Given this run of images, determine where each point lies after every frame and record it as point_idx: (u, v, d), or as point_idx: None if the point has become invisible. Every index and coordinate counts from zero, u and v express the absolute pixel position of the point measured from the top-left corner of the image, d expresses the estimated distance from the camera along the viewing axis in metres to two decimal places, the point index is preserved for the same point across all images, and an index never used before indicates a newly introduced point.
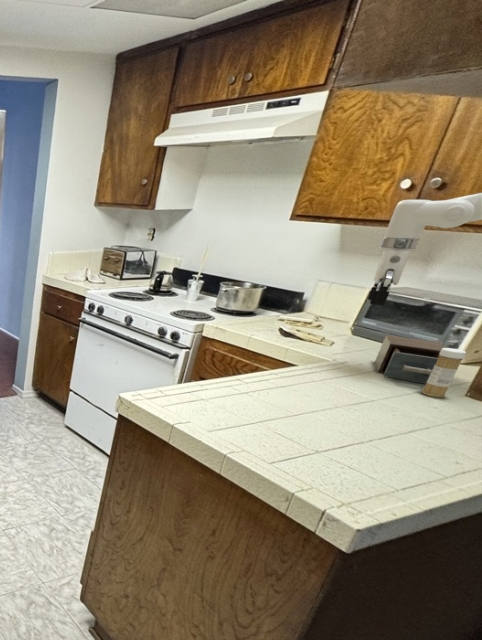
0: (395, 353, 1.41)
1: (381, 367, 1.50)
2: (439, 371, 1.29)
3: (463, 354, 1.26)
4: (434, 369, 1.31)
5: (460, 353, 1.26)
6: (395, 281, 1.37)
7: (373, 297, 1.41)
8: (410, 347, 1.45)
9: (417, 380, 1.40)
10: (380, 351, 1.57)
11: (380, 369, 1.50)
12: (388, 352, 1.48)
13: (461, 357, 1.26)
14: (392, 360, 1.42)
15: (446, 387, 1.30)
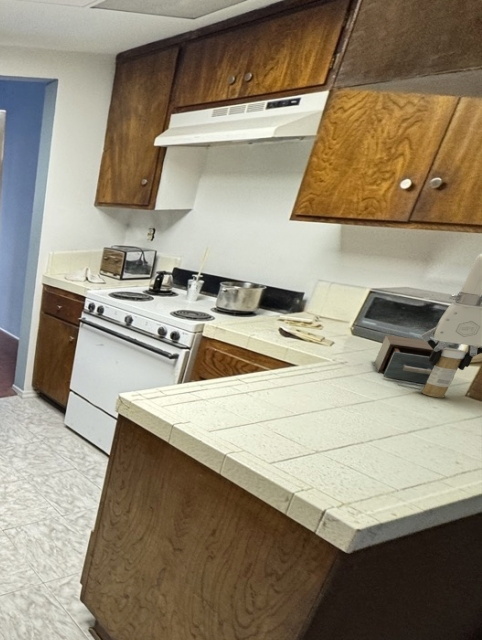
0: (395, 353, 1.41)
1: (381, 367, 1.50)
2: (439, 371, 1.29)
3: (463, 354, 1.26)
4: (434, 369, 1.31)
5: (460, 353, 1.26)
6: (434, 335, 1.28)
7: None
8: (410, 347, 1.45)
9: (417, 380, 1.40)
10: (380, 351, 1.57)
11: (380, 369, 1.50)
12: (388, 352, 1.48)
13: (461, 357, 1.26)
14: (392, 360, 1.42)
15: (446, 387, 1.30)
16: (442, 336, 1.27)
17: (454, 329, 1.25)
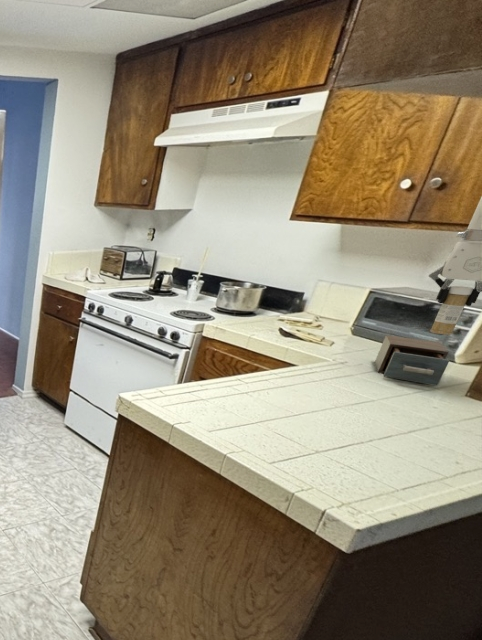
0: (395, 353, 1.41)
1: (381, 367, 1.50)
2: (447, 309, 1.33)
3: (470, 290, 1.30)
4: (442, 307, 1.35)
5: (467, 289, 1.30)
6: (442, 273, 1.32)
7: None
8: (410, 347, 1.45)
9: (417, 380, 1.40)
10: (380, 351, 1.57)
11: (380, 369, 1.50)
12: (388, 352, 1.48)
13: (468, 293, 1.30)
14: (392, 360, 1.42)
15: (454, 324, 1.34)
16: (450, 273, 1.31)
17: (461, 265, 1.29)
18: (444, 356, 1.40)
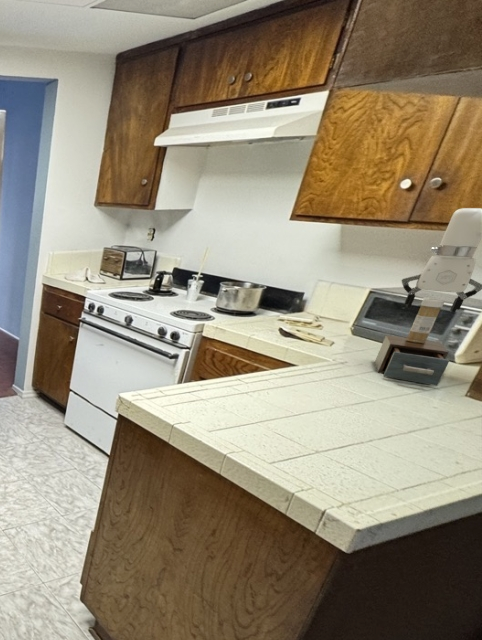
0: (395, 353, 1.41)
1: (381, 367, 1.50)
2: (421, 320, 1.46)
3: (441, 303, 1.43)
4: (416, 318, 1.48)
5: (439, 302, 1.43)
6: (417, 285, 1.45)
7: None
8: (410, 347, 1.45)
9: (417, 380, 1.40)
10: (380, 351, 1.57)
11: (380, 369, 1.50)
12: (388, 352, 1.48)
13: (440, 306, 1.43)
14: (392, 360, 1.42)
15: (427, 333, 1.47)
16: (424, 285, 1.43)
17: (434, 278, 1.42)
18: (444, 356, 1.40)
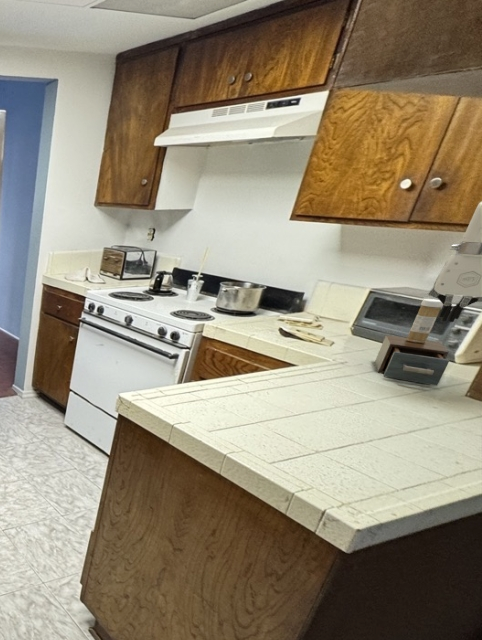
0: (395, 353, 1.41)
1: (381, 367, 1.50)
2: (421, 320, 1.46)
3: (441, 303, 1.43)
4: (416, 318, 1.48)
5: (439, 302, 1.43)
6: (435, 288, 1.25)
7: None
8: (410, 347, 1.45)
9: (417, 380, 1.40)
10: (380, 351, 1.57)
11: (380, 369, 1.50)
12: (388, 352, 1.48)
13: (440, 306, 1.43)
14: (392, 360, 1.42)
15: (427, 333, 1.47)
16: (442, 288, 1.24)
17: (455, 280, 1.22)
18: (444, 356, 1.40)
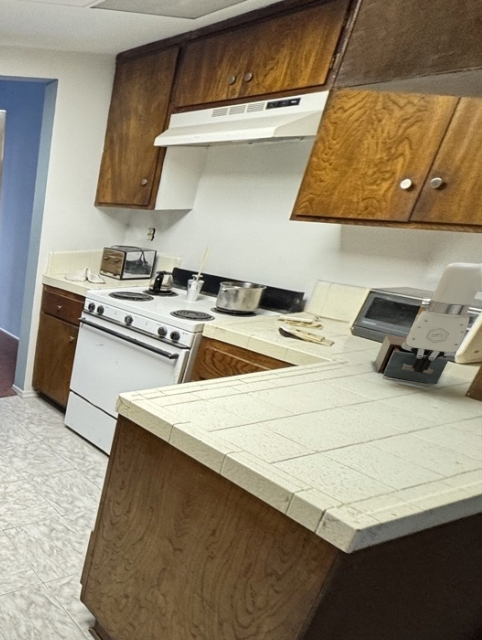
0: (395, 352, 1.42)
1: (381, 367, 1.50)
2: None
3: None
4: (416, 318, 1.48)
5: None
6: (407, 341, 1.34)
7: None
8: None
9: (416, 379, 1.41)
10: (380, 351, 1.57)
11: (380, 369, 1.50)
12: (388, 352, 1.48)
13: None
14: (392, 359, 1.43)
15: None
16: (414, 342, 1.33)
17: (425, 335, 1.31)
18: (444, 356, 1.40)
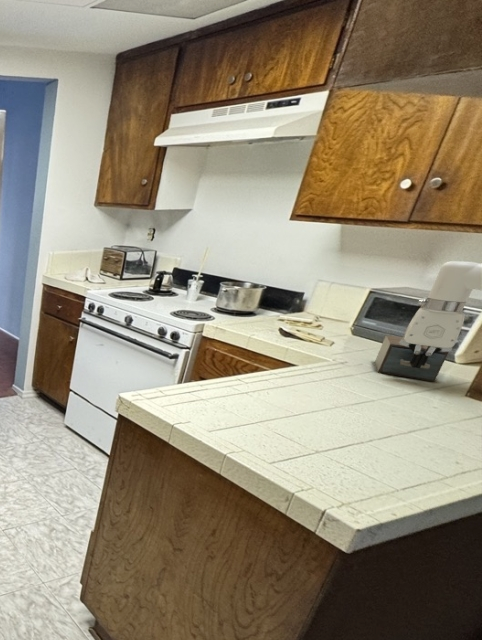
0: (393, 348, 1.46)
1: (381, 367, 1.50)
2: None
3: None
4: None
5: None
6: (404, 338, 1.38)
7: None
8: None
9: (414, 374, 1.45)
10: (380, 351, 1.57)
11: (380, 369, 1.50)
12: (388, 352, 1.48)
13: None
14: (390, 355, 1.47)
15: None
16: (411, 338, 1.37)
17: (422, 332, 1.35)
18: None
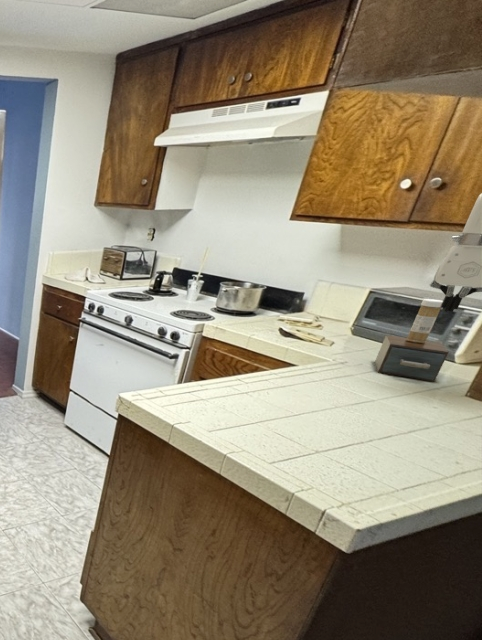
0: (393, 348, 1.46)
1: (381, 367, 1.50)
2: (421, 320, 1.46)
3: (441, 303, 1.43)
4: (416, 318, 1.48)
5: (439, 302, 1.43)
6: (435, 279, 1.27)
7: None
8: (410, 347, 1.45)
9: (414, 374, 1.45)
10: (380, 351, 1.57)
11: (380, 369, 1.50)
12: (388, 352, 1.48)
13: (440, 306, 1.43)
14: (390, 355, 1.47)
15: (427, 333, 1.47)
16: (443, 279, 1.26)
17: (455, 271, 1.24)
18: None
